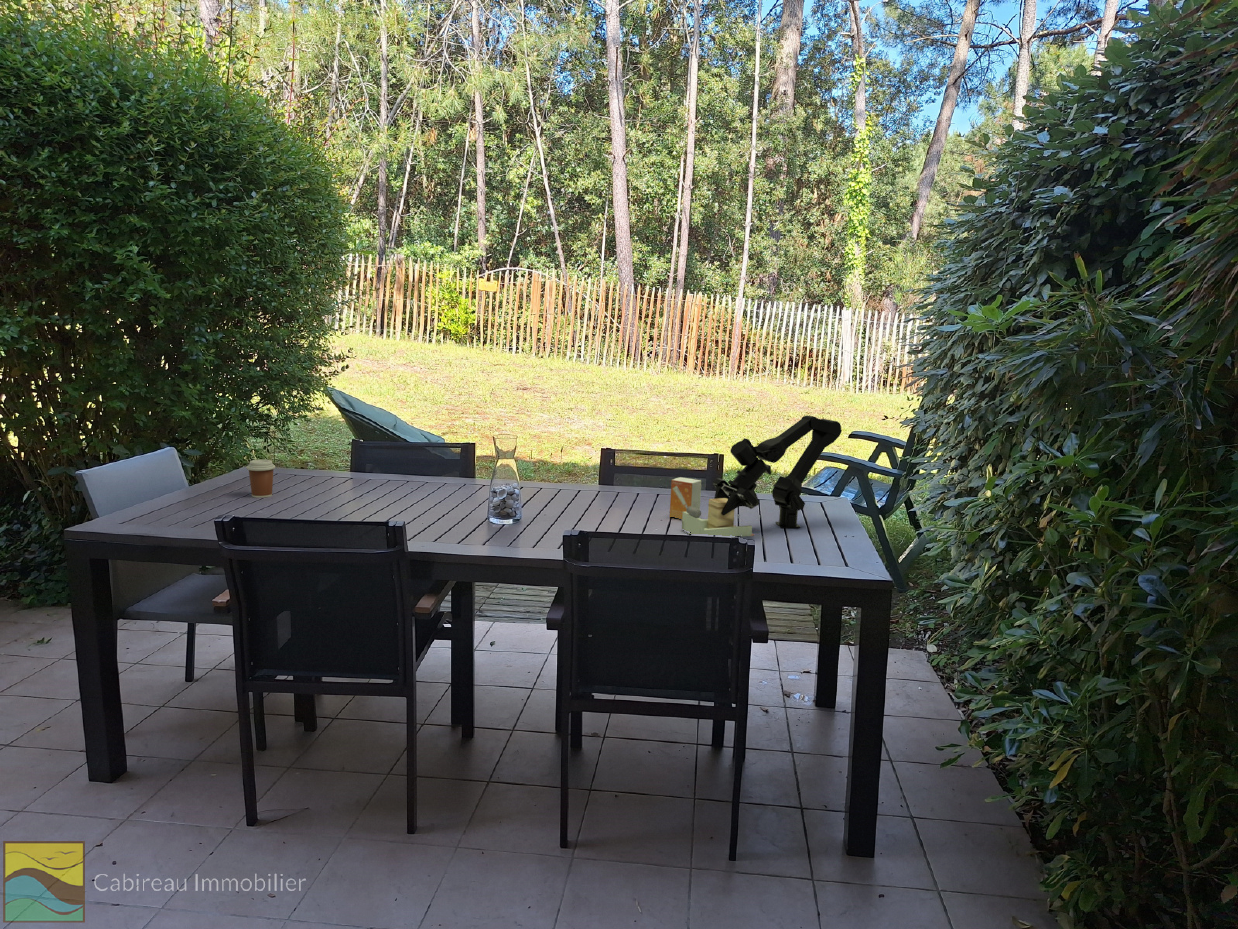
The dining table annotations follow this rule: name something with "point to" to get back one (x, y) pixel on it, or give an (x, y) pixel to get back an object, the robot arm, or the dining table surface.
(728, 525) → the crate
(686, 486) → the small box
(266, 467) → the coffee cup
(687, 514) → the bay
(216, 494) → the dining table surface
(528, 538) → the dining table surface
